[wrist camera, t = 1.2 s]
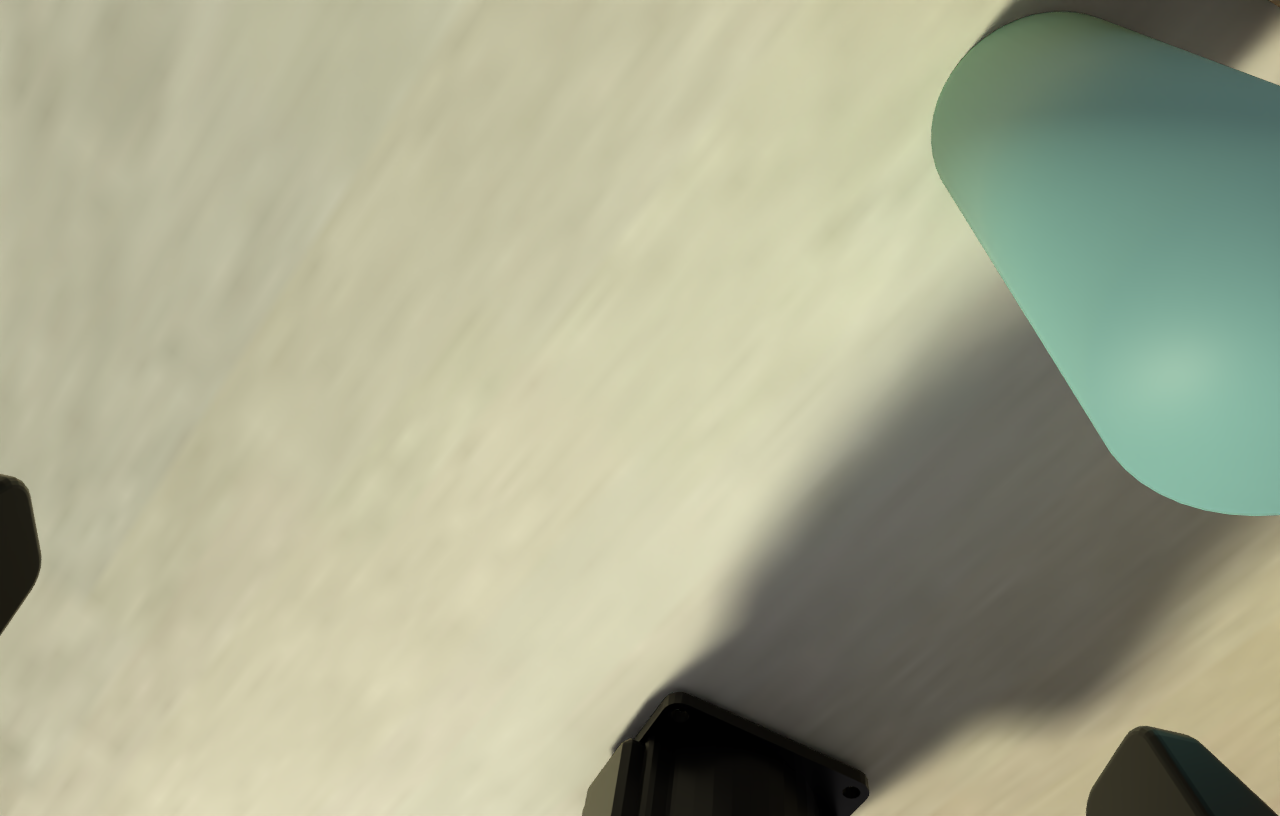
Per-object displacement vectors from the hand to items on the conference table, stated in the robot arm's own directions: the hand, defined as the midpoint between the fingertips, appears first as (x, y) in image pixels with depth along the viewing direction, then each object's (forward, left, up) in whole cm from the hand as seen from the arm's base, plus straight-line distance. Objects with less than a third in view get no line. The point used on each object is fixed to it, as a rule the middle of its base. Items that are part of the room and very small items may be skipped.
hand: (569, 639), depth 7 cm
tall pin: (-5, -4, -13) cm, 15 cm away
